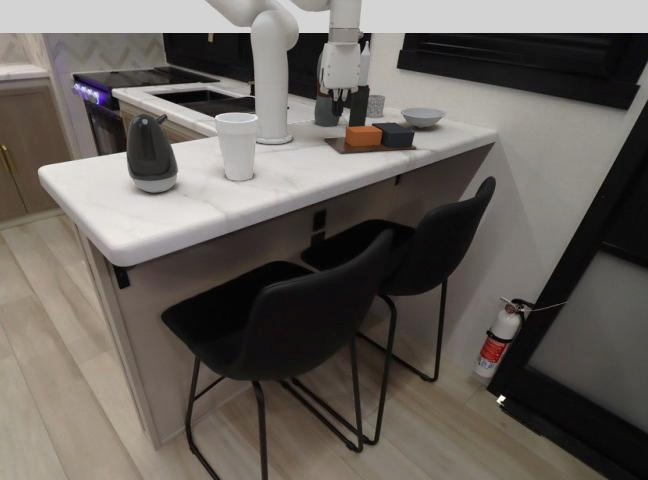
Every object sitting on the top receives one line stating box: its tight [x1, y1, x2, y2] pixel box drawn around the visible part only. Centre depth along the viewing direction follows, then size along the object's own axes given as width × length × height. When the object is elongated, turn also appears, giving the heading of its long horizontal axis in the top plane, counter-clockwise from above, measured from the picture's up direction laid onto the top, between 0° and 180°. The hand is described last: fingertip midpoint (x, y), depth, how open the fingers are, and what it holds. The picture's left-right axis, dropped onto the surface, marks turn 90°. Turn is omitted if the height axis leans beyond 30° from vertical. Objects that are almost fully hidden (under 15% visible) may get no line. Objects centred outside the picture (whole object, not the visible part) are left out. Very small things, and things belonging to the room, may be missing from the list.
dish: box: [400, 107, 447, 129], centre depth 131 cm, size 18×14×5 cm
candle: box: [347, 40, 371, 127], centre depth 121 cm, size 5×5×25 cm
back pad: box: [371, 122, 416, 148], centre depth 115 cm, size 8×12×4 cm, turn 15°
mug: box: [366, 94, 386, 119], centre depth 144 cm, size 10×7×7 cm
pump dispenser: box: [125, 112, 179, 194], centre depth 79 cm, size 10×10×15 cm
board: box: [324, 136, 417, 155], centre depth 115 cm, size 24×14×1 cm, turn 105°
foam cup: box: [214, 112, 258, 182], centre depth 87 cm, size 10×9×13 cm
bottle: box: [313, 48, 341, 128], centre depth 125 cm, size 9×9×30 cm
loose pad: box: [344, 125, 382, 147], centre depth 113 cm, size 9×6×4 cm, turn 105°
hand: (336, 115), depth 107 cm, fingers closed
